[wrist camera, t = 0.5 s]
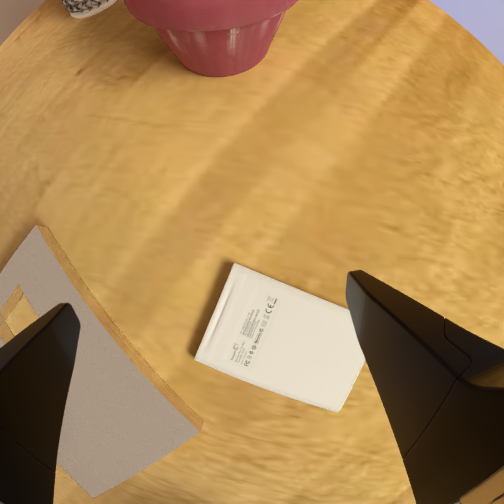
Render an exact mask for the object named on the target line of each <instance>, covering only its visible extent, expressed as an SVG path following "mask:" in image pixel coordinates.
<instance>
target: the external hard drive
mask: <svg viewBox="0 0 504 504" xmlns="http://www.w3.org/2000/svg"><path fill="white" fill-rule="evenodd" d="M194 360H196V361H198V362H200V363H202V364H205V365H207V366H210V367H212V368H214V369H216V370H219V371H221V372H223V373H226V374H228V375H231V376H233V377H236V378H238V379H240V380H243V381H246V382H248V383H251V384H253V385H256V386H259V387H261V388H264V389H267V390H270V391H272V392H275V393H278V394H281V395H284V396H287V397H290V398H293V399H295V400H298V401H302V402H305V403H308V404H311V405H314V406H318V407H321V408H324V409H328V410H331V411H335V412H339V411H340V409H341V408H342V406H343V404H344V402H345V400H346V398H347V396H348V394H349V392H350V390H351V388H352V386H353V384H354V382H355V380H356V378H357V376H358V374H359V372H360V370H361V368H362V366H363V364H364V362H365V357H364V355H363V352H362V350H361V347H360V345H359V342H358V339H357V336H356V332H355V329H354V325H353V322H352V318H351V315H350V311H349V310H348V309H346V308H344V307H341V306H339V305H336V304H334V303H331V302H329V301H326V300H324V299H321V298H319V297H316V296H314V295H312V294H309V293H307V292H304V291H302V290H299V289H297V288H295V287H292V286H290V285H287V284H285V283H282V282H280V281H278V280H275V279H273V278H270V277H268V276H266V275H263V274H261V273H258V272H256V271H253V270H251V269H249V268H246V267H244V266H242V265H239V264H237V263H234V264H233V266H232V269H231V271H230V274H229V276H228V279H227V281H226V283H225V286H224V288H223V291H222V293H221V295H220V298H219V300H218V303H217V305H216V308H215V310H214V312H213V315H212V317H211V319H210V322H209V324H208V327H207V329H206V331H205V334H204V336H203V339H202V341H201V343H200V346H199V348H198V351H197V353H196V356H195V358H194Z"/></svg>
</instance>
